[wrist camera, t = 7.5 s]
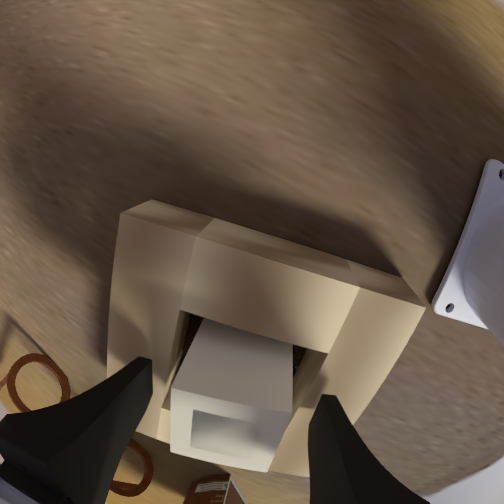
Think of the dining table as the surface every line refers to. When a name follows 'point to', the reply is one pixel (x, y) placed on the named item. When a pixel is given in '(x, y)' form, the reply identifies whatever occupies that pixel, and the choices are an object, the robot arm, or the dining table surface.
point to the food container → (215, 491)
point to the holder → (253, 312)
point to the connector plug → (232, 397)
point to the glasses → (116, 486)
